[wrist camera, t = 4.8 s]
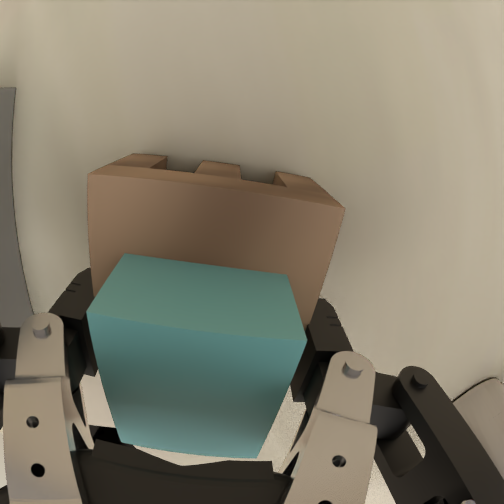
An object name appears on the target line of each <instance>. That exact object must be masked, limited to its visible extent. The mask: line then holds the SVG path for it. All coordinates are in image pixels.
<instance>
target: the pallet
mask: <svg viewBox="0 0 504 504" xmlns="http://www.w3.org/2000/svg"><path fill="white" fill-rule="evenodd" d="M167 157H168V156H158V155H147V154H131V155H129V156H126V157H124V158H122V159H119V160H117V161H115V162H113V163H110V164H108V165H106V166H104V167H101V168H99V169H97V170H95V171H93V172H91V173H89V174H88V183H87V209H88V237H89V253H90V266H91V276H92V285H93V294H94V297H96V295H97V294H98V292H99V291H100V289H101V288H102V286H103V284H104V283H105V281H106V280H107V278H108V277H109V275H110V274H111V272H112V271H113V269H114V268H115V267H116V265H117V264H118V262H119V261H120V259H121V258H122V256H123V255H124V254H125V253H127V254H134V255H141V256H148V257H155V258H162V259H169V260H177V261H184V262H191V263H199V264H206V265H214V266H222V267H229V268H237V269H245V270H253V271H261V272H269V273H277V274H286V275H287V276H288V280H289V283H290V286H291V289H292V292H293V295H294V299H295V302H296V305H297V308H298V312H299V315H300V318H301V321H302V325H303V328H304V331H305V330H306V328H307V325H308V324H310V321H311V318H312V315H313V312H314V310H315V307H316V304H317V301H318V298H319V295H320V292H321V289H322V286H323V283H324V280H325V276H326V273H327V270H328V267H329V264H330V260H331V257H332V254H333V251H334V247H335V244H336V241H337V237H338V234H339V230H340V227H341V223H342V220H343V216H344V212H345V208H344V207H343V206H342V205H341V204H340V203H339V202H337V201H336V200H335V199H334V198H333V197H332V196H331V195H330V194H328V193H327V192H326V191H325V190H324V189H323V188H321V187H320V186H319V185H318V184H317V183H316V182H314V181H313V180H312V179H311V178H309V177H304V176H299V175H293V174H288V173H282V172H277V171H276V172H275V177H274V182H273V184H267V183H260V182H254V181H248V180H241V173H240V165H233V164H226V163H219V162H212V161H204V160H203V161H202V163H201V164H200V166H199V167H198V168H197V170H196V171H195V173H189V172H180V171H171V170H166V166H167Z"/></svg>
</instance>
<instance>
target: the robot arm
mask: <svg viewBox="0 0 504 504" xmlns="http://www.w3.org/2000/svg"><path fill="white" fill-rule="evenodd" d="M94 298H95V297H94V294H93V285H92V276H91V268H87V269H86V270H84V271H82V272H80V273H79V274H77V275H76V277H75V278H74V279H73V280H72V282H71V284H69V285H68V287H67V288H66V291H64V292H63V293H62V294H61V296H60V297H59V298H58V300H57V301H56V302H55V304H54V305H53V306H52V308H51V309H50V310H49V312H48V313H38V314H34V315H32V316H30V317H29V318H27V319H26V320H25V321H24V322H23V324H22V325H21V327H2V326H1V323H0V430H1V428H2V427H3V440H4V459H5V470H6V479H7V485H6V486H4V487H2V488H0V504H364V503H365V499H366V495H367V490H368V485H369V480H370V475H371V470H372V465H373V459H374V460H375V462H376V464H377V466H378V468H379V470H380V472H381V474H382V476H383V478H384V480H385V482H386V484H387V486H388V488H389V490H390V492H391V494H392V496H393V498H394V500H395V503H396V504H504V383H503V384H501V382H500V381H499V380H498V379H495V378H493V379H490V380H487V381H485V382H483V383H481V384H479V385H477V386H476V387H474V388H472V389H471V390H469V391H468V392H466V393H465V394H464V395H462V396H461V397H460V398H458V399H457V400H456V401H455V402H453V403H452V402H451V400H450V399H449V397H448V396H447V395H446V393H445V392H444V391H443V389H442V388H441V387H440V385H439V384H438V383H437V381H436V380H435V379H434V377H433V376H432V375H431V374H430V373H429V372H427V371H426V370H424V369H422V368H420V367H416V366H408V367H405V368H403V369H402V371H401V372H400V374H399V375H398V377H395V376H391V375H386V374H381V373H378V372H375V368H374V366H373V365H372V363H371V362H370V361H369V360H368V359H367V358H366V357H364V356H362V355H361V354H358V353H356V352H354V351H353V349H352V347H351V345H350V342H349V340H348V338H347V336H346V334H345V331H344V329H343V327H341V323H340V320H339V319H338V316H337V314H336V312H335V310H334V308H333V307H332V306H331V305H330V304H329V303H328V302H327V301H326V300H325V299H321V298H318V301H317V304H316V307H315V310H314V312H313V315H312V318H311V321H310V324H308V325H307V328H306V330H305V335H306V338H307V343H306V345H305V348H304V351H303V353H302V356H301V358H300V361H299V363H298V366H297V368H296V371H295V373H294V376H293V378H292V381H291V383H290V386H291V391H292V397H293V402H305V405H306V410H305V412H304V413H303V415H302V418H301V421H300V423H299V426H298V429H297V431H296V434H295V436H294V439H293V441H292V444H291V446H290V448H289V451H288V453H287V456H286V458H285V460H284V462H283V464H282V466H281V467H280V469H279V471H278V473H277V472H273V466H272V461H231V460H227V461H221V462H214V463H207V464H199V465H190V466H180V465H176V464H173V463H171V462H168V461H165V460H163V459H160V458H158V457H155V456H153V455H150V454H148V453H146V452H143V451H141V450H139V449H136V448H131V447H127V446H122V445H118V444H114V443H110V442H106V441H102V440H98V439H96V441H95V444H94V443H93V440H92V437H91V434H90V430H89V425H88V420H87V414H86V409H85V403H84V397H83V391H82V385H81V383H80V381H81V379H82V377H83V374H86V375H90V376H94V377H95V375H96V373H97V370H98V366H97V362H96V357H95V353H94V349H93V344H92V339H91V335H90V329H89V324H88V319H87V313H86V311H87V310H88V308H89V306H90V305H91V303H92V302H93V300H94ZM410 425H412V426H413V428H414V429H415V431H416V433H417V434H418V436H419V438H420V439H421V441H422V443H423V444H424V446H425V451H426V453H425V457H424V459H423V458H422V456H421V454H420V452H419V451H418V449H417V447H416V445H415V444H414V442H413V440H412V439H411V437H410V435H409V434H408V432H407V430H406V429H407V428H408V427H409V426H410Z"/></svg>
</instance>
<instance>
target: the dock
mask: <svg viewBox="0 0 504 504" xmlns="http://www.w3.org/2000/svg"><path fill="white" fill-rule="evenodd" d="M15 91H16V88H0V323H1V326H2V327H21V325H22V324H23V322H24V321H25V320H26V319H27V318H29V317H30V316H32V315H33V311H32V307H31V304H30V300H29V296H28V292H27V287H26V283H25V278H24V274H23V269H22V264H21V258H20V253H19V246H18V240H17V233H16V225H15V216H14V206H13V193H12V169H11V146H12V122H13V110H14V99H15Z"/></svg>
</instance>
